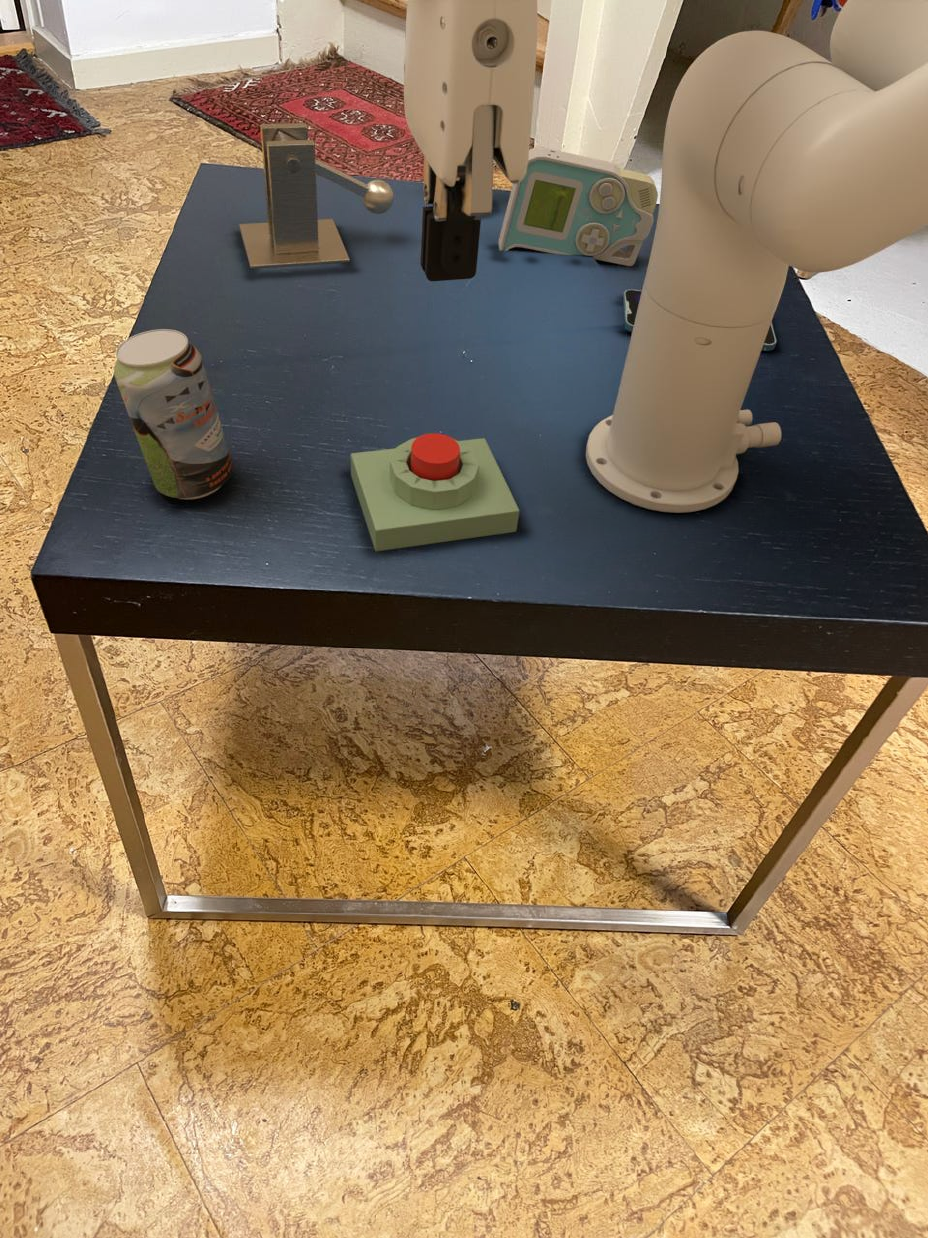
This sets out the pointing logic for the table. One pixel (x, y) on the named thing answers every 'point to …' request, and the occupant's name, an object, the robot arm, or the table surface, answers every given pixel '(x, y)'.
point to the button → (435, 457)
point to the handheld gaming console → (579, 208)
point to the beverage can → (173, 413)
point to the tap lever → (354, 184)
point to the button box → (432, 498)
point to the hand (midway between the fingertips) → (447, 272)
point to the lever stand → (291, 206)
